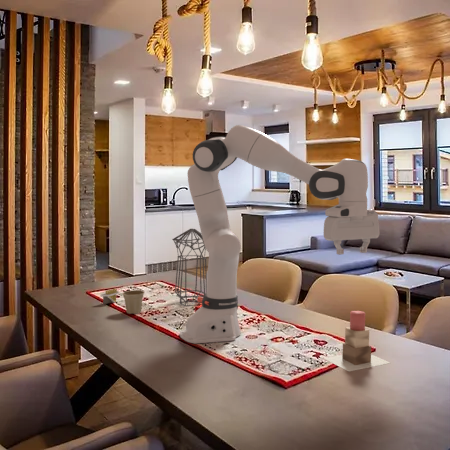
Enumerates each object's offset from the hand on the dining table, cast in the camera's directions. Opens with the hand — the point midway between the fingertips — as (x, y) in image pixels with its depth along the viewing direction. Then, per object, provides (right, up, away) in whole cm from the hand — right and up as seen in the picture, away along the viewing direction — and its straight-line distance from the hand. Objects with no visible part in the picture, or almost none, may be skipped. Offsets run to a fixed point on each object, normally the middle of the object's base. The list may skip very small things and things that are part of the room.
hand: (351, 253), depth 157 cm
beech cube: (0, -28, -7) cm, 28 cm away
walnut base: (0, -33, -6) cm, 33 cm away
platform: (-94, -28, +71) cm, 121 cm away
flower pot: (-80, -29, +55) cm, 101 cm away
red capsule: (0, -23, -7) cm, 24 cm away
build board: (0, -34, -6) cm, 34 cm away
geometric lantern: (-56, -28, +71) cm, 94 cm away
